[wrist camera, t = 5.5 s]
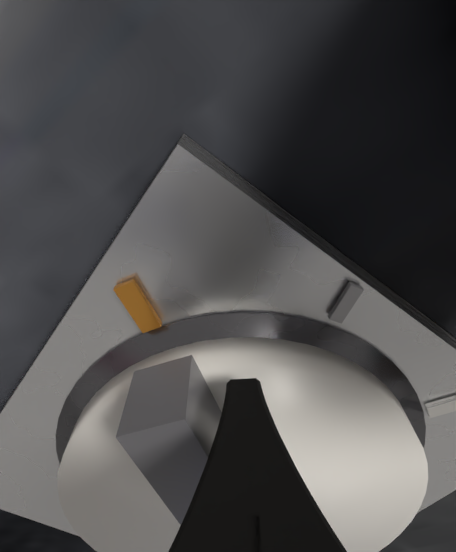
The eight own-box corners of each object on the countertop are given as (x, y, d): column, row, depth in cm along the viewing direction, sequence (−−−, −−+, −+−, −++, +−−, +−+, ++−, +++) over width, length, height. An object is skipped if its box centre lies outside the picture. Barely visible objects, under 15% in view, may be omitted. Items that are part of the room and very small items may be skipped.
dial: (427, 525, 16) (472, 624, 13) (157, 578, 18) (145, 675, 15) (382, 270, 10) (444, 351, 7) (-13, 388, 12) (-86, 489, 9)
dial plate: (266, 568, 21) (269, 608, 19) (-29, 456, 16) (-56, 497, 15) (530, 394, 15) (565, 432, 13) (183, 133, 10) (177, 146, 9)
